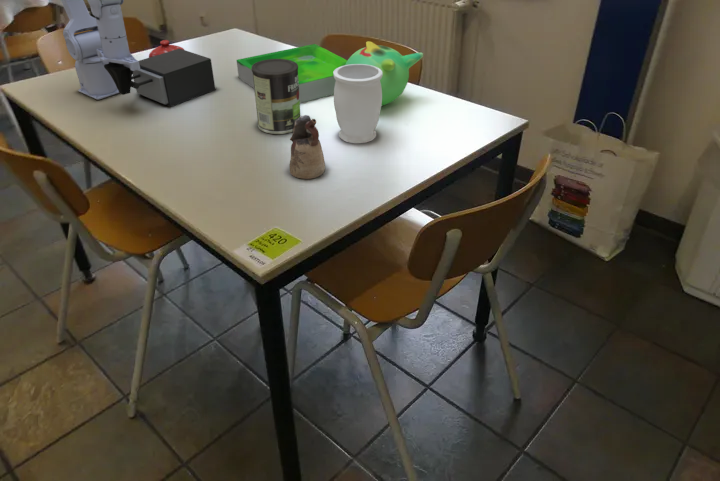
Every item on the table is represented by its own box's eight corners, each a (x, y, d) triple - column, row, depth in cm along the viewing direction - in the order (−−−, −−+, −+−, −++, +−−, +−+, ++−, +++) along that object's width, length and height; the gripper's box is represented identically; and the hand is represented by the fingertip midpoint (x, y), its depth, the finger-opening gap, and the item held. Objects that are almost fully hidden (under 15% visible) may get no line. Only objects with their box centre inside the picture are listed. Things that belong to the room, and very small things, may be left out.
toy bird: (366, 85, 154) (367, 29, 146) (422, 97, 147) (426, 40, 139) (330, 107, 142) (328, 49, 133) (389, 123, 135) (391, 62, 126)
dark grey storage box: (170, 106, 142) (164, 74, 137) (140, 94, 148) (132, 62, 143) (215, 89, 151) (210, 58, 146) (185, 78, 157) (179, 48, 152)
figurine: (309, 159, 120) (306, 105, 113) (332, 170, 116) (330, 116, 109) (283, 170, 116) (278, 116, 109) (306, 183, 112) (303, 127, 105)
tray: (363, 86, 153) (363, 68, 150) (281, 107, 142) (279, 88, 139) (315, 60, 170) (314, 43, 167) (238, 77, 158) (236, 59, 155)
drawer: (146, 111, 137) (140, 84, 133) (118, 99, 143) (111, 73, 139) (207, 88, 149) (203, 63, 145) (179, 78, 155) (174, 54, 151)
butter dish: (177, 79, 157) (171, 48, 152) (141, 75, 159) (134, 44, 154) (198, 66, 166) (193, 36, 160) (163, 61, 168) (157, 32, 163)
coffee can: (306, 117, 137) (303, 60, 129) (294, 136, 129) (290, 76, 121) (266, 114, 139) (260, 56, 130) (251, 132, 131) (244, 72, 122)
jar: (346, 150, 124) (346, 83, 115) (327, 131, 131) (325, 67, 122) (389, 140, 128) (391, 75, 119) (367, 122, 135) (368, 60, 126)
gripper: (79, 32, 131) (93, 89, 139) (114, 45, 124) (127, 105, 131) (107, 27, 136) (119, 82, 143) (143, 39, 128) (153, 97, 136)
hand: (125, 93), depth 138 cm, fingers closed, pressing on drawer
